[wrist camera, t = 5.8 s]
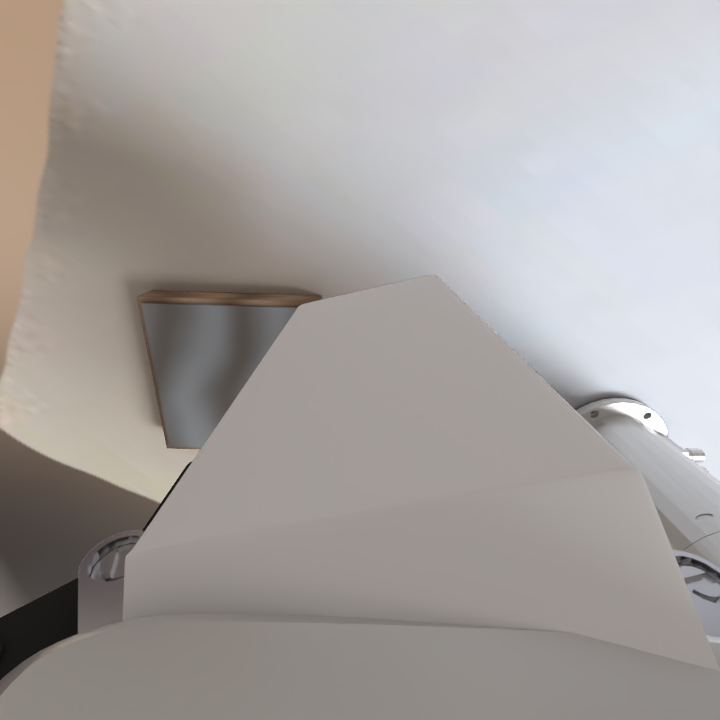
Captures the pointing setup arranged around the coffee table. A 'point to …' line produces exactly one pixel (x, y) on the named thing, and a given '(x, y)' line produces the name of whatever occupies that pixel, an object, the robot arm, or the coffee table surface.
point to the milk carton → (413, 490)
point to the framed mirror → (207, 353)
